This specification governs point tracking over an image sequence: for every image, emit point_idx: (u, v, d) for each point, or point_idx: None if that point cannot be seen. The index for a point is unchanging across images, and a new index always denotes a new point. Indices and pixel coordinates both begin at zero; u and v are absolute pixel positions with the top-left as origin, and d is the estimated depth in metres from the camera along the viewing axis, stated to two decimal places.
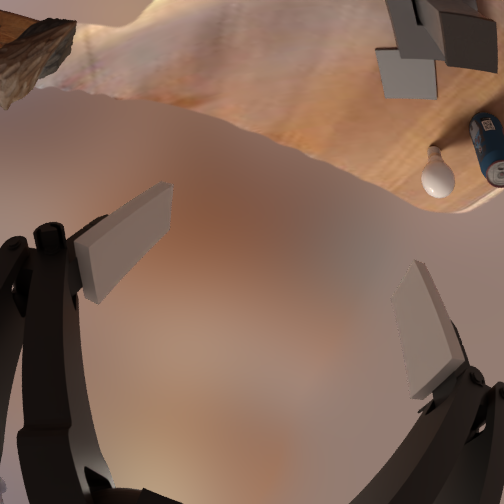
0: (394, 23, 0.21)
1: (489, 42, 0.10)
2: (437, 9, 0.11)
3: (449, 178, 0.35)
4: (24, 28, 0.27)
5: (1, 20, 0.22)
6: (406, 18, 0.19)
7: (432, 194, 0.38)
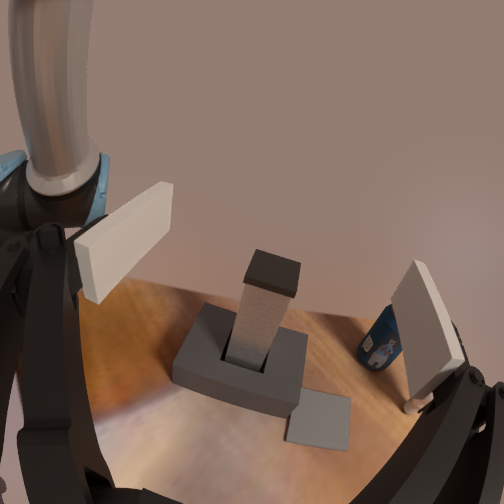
0: (256, 392, 0.30)
1: (273, 258, 0.29)
2: (242, 293, 0.27)
3: None
4: None
5: None
6: (253, 378, 0.32)
7: None
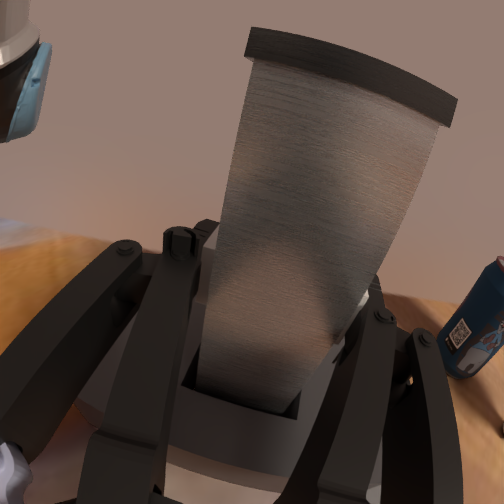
0: (281, 472, 0.09)
1: None
2: (242, 118, 0.06)
3: None
4: None
5: None
6: (272, 436, 0.10)
7: None
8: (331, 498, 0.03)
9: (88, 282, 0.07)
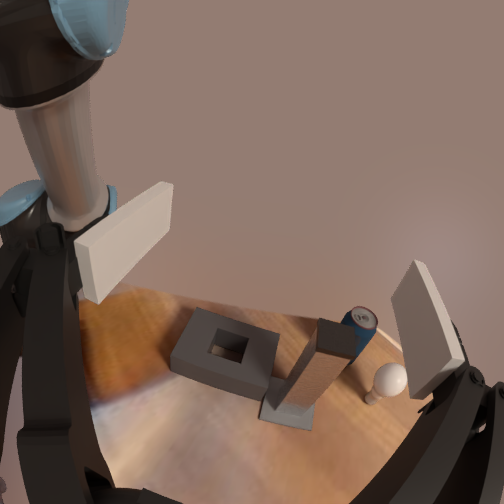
0: (234, 377, 0.40)
1: (334, 326, 0.33)
2: (312, 357, 0.32)
3: (384, 366, 0.41)
4: None
5: None
6: (233, 367, 0.41)
7: (403, 377, 0.38)
8: None
9: None
